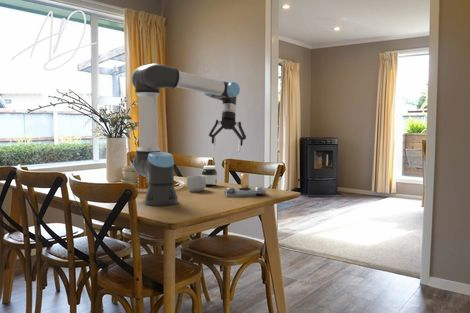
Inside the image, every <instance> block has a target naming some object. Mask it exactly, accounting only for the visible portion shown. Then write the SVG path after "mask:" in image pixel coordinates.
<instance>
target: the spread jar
mask: <svg viewBox="0 0 470 313" xmlns="http://www.w3.org/2000/svg"><path fill="white" fill-rule="evenodd" d="M201 175H202V176H206V187H205V188H212V187H216V186H217V185H218V171H217V170H216V166H215V165H204V166H203V170H202V172H201Z"/></svg>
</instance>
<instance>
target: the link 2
mask: <svg viewBox="0 0 470 313" xmlns="http://www.w3.org/2000/svg"><path fill="white" fill-rule="evenodd" d="M233 188H234V191H235V192H236V194H256V196H263V195H264V194H266V193H267V190H266V189H265V188H264V187H262V186H257V187H253V186H249V190H241V187H233Z"/></svg>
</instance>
